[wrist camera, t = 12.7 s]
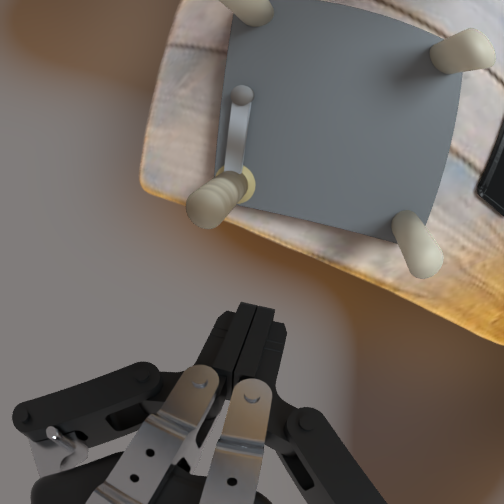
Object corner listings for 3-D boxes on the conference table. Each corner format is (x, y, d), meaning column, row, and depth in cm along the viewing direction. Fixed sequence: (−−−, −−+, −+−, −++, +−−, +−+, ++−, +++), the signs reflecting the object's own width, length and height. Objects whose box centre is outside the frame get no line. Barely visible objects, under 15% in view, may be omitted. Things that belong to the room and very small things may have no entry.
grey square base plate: (244, 3, 21) (208, -34, 12) (453, 53, 17) (501, 39, 8) (221, 192, 34) (181, 228, 25) (409, 237, 31) (435, 289, 21)
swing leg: (228, 84, 24) (195, 78, 17) (262, 87, 24) (240, 80, 17) (216, 196, 31) (185, 224, 24) (246, 202, 30) (222, 232, 24)
